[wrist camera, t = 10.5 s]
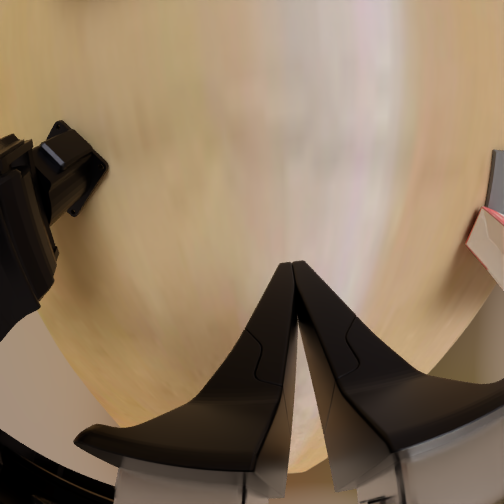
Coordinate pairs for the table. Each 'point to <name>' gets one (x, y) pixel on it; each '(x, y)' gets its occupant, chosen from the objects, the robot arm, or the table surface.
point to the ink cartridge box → (489, 242)
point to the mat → (496, 183)
